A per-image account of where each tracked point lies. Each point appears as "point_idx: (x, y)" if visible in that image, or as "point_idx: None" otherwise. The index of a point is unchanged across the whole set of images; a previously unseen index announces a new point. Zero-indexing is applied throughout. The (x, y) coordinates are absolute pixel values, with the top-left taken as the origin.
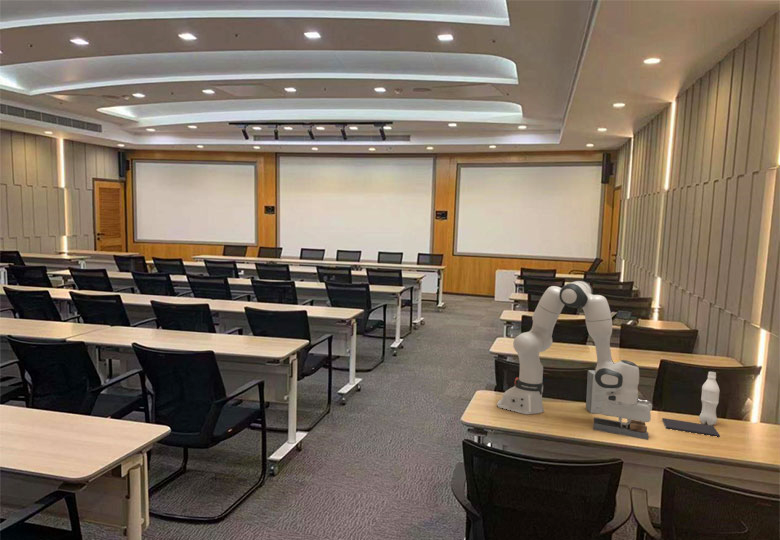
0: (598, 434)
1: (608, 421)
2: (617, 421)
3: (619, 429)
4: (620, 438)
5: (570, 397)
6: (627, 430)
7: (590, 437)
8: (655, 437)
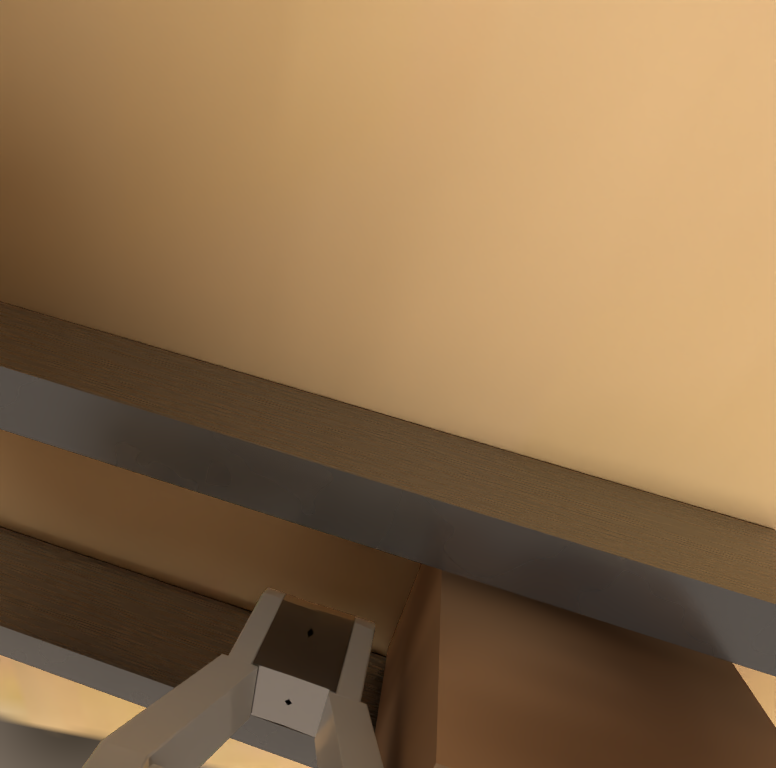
0: None
1: (51, 433)
2: (209, 444)
3: None
4: None
5: None
6: None
7: (16, 701)
8: (770, 708)
